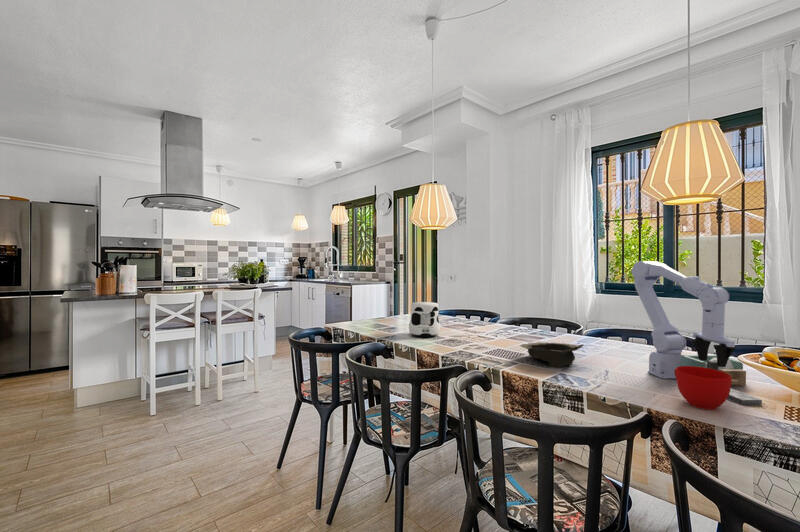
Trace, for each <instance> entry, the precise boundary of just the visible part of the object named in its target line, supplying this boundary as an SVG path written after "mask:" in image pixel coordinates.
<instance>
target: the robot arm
mask: <svg viewBox="0 0 800 532" xmlns="http://www.w3.org/2000/svg"><path fill="white" fill-rule="evenodd" d="M630 272H631V274H632V276H633V281H634V287H635V290H636V293H637V295H638V296H639V298H640V301H641V303H642V305H643V307H644V309H645V311H646V313H647V316H648V318H649V320H650V322H651V324H652V326H653V330H652V331H651V333H650V334H651V338H652V344H653V347H654V348H655V350H656V351H653V352H650V354H649V357H648V370H647V373H649V374H651V375H654V376H656V377H658V378H660V379H676V376H675V369H676V368H677V367H680V366H681V355H682V353H683V350H684V349H685V348H686V346H687V340H686V338H685V337H684V336H683V334H681V333H680V331H679V329H678V328H677V327H676V326H674V325H672V324H671V323H670V320H669V318H668V316H667V314H666V312H665V310H664V309H663V308H664V307H663V306H662V305H661V302H660V299H659V298H658V296H657V294H656V292H655V290H654V287H653V286H654V285H655V283H656V282H657V281H658V280H659V279H660V278H661V277H663V278H665V279H667V280H670V281H672V282H674V283H676V284H678V285H680V286H681V290H683V291H684V292H686V293H688V294H690V295H692V296H694V297H695V298H697V299H698V300H699V302H700V303H701V307H702V317H701V318H702V322H701V324H702V328H701V332H700V331H693V332H692V339H691V343H692V344H693V346H694V348H695V350H696V354H697V355H698V357H699V360H705V361H706V360H707V356H708V355H709V348H710V346H711V343H715V344H713V348H714V351H715V355H717V365H718V367H726V364H727V361H728V359H729V358H731V355H732V354H733V353H734V351H735V350H736V345H735V344H736V343H735V342H736V341H735V340H732V339H729V338H727V336H725V318H726V317H725V311H726V308H725V307H726V303H728V302H729V300H730V293H729V292H728V290H726V288H724V287H722V286H716V287H715V286H714V284H713V283H711V282H710V283H709V282H707V281H706V282H705V281H704V280H701V277H700V276H698V275H697V276H695V275H694V276H693V275H691V276H686V275H684V274H682V273H680V272H679V271H677V270H675V269H673V268H672V267H670V266H668V265H667V264H666V263H662V262H660V261H655V260H654V261H642V260H639V261H636V262H635V263H634V264H633V266H632V269H631V271H630ZM693 338H694V339H693Z"/></svg>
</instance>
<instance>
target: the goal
mask: <svg viewBox="0 0 800 532" xmlns="http://www.w3.org/2000/svg"><path fill="white" fill-rule="evenodd" d="M714 357H715V358H717V355H716V354H708V356H707V360H706V361H705V360H699V357H698V354H681V366H695V367H703V368H705V363H707V361H710V360H711V359H713V358H714ZM728 360H729V361H731V363H732V365H733V367H734V369H741V370H744V363H743V364H742V363H741V362H742V361H740V360H736V359H733V358H731V357H729V359H728Z"/></svg>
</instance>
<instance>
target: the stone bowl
mask: <svg viewBox="0 0 800 532" xmlns="http://www.w3.org/2000/svg"><path fill="white" fill-rule="evenodd" d="M583 346H584V344H578V345H576V344H571V343H564V342H563V343H561V342H529V343H522V344H520V345H519V347H522V348H524V349H526V350H527V353H528V355H529V357H531V358H535V359H538V360H541V361H543V362H547V363H548V366H549V367H550V368H565V367H566V366H572V365H573V364H574V363H573V362H574V361H575V360H576V355H575V354H574V352H575V351H578V350H579V349H581V348H583Z"/></svg>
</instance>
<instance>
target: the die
mask: <svg viewBox="0 0 800 532" xmlns="http://www.w3.org/2000/svg"><path fill="white" fill-rule="evenodd" d="M710 361H715V362H717V358H715V357H714V358H713V359H711V360H710ZM705 368H707V363H705ZM719 369H734V367H733V365H732V363H731V361H729V360H728V361H727V364H726V367H719V368H718V371H719Z"/></svg>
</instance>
